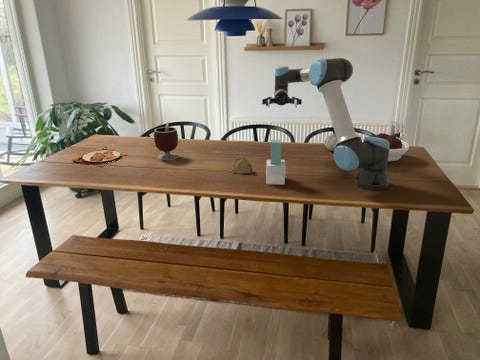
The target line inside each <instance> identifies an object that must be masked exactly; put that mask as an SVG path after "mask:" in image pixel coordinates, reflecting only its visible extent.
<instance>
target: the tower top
mask: <svg viewBox="0 0 480 360" xmlns="http://www.w3.org/2000/svg"><path fill="white" fill-rule="evenodd" d="M270 163H271V159H266V171H267V175H285V176H286V175H287V171H286V170H287V165H286V162H285V159H281V164H270Z"/></svg>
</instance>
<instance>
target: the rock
mask: <svg viewBox="0 0 480 360" xmlns="http://www.w3.org/2000/svg"><path fill="white" fill-rule="evenodd" d="M253 168H254V167H253V166H252V165H251V163H250V162H249V160H248V159H247V158H246V157H245V156H244V155H243V154H241V153H237V155H236V157H235V159H234V164H233V167H232V172H231V174H232V175H234V174H237V175H238V174H241V175H242V174H248V173H249V174H250V173H251V174H252V173H254V169H253Z"/></svg>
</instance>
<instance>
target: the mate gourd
mask: <svg viewBox="0 0 480 360" xmlns="http://www.w3.org/2000/svg"><path fill="white" fill-rule="evenodd" d="M153 131H154V133H153V141H154V144H155V146H156V148H157V149H158V150H159V151H161V152H164V153H162V154H159V155H157V157H156V158H157V160H159V161H163V160H169V161H174V160H177V159H178V158H179V155H178V154H176V153H171V152H172V151H173V150H175V149H176V148H177V147H178V144H179V134H178V131H177V128H176V127H171V126H170V125H169V121H167V122H166V124H165V126H164V127H163V126H162V127H157V128H155V129H154V130H153ZM176 158H177V159H176ZM173 159H174V160H173Z"/></svg>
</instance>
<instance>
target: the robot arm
mask: <svg viewBox="0 0 480 360" xmlns="http://www.w3.org/2000/svg"><path fill="white" fill-rule="evenodd" d="M353 73H354V66H353V64H352V62H351V61H349V60H348V59H346V58H344V57H343V58H342V57H339V58H336V57H335V58H321V59H315V60H314V61H313V62H312V63H311V65H310V67H305V68H294V69H292V68H289V66H287V65H285V66H284V65H277V66H276V67H275V70H274V94H273V95H274V97H272V96H269V97H266V98H263V99H262V101H261V102H262V103H261V104H262V105H265V107H267V108H270V105H272V104H275V105H277V106H285V105H287V104H291V105H294V108H297V106H299V105H300V106H301V105H302V102H303V101H302V99H301V98H297V97H295V96H291V97H290V96H289V94H288V93H289V92H288V91H289V84H293V83H294V84H296V83H306V82H308V83H310V84H311V85H312V86H315V87H316V88H317V91H318V92H319V93H321V94H322V96H323V99H324V102H325V106H326V108H327V111H328V114H329V118H330V121H331V124H332V128H333V130H334V134H336V137H337V143H336V149H335V150H334V151H333V160H334V163H335V164H336V166H337V167H338V168H340V169H341V170H342V171H354V170H358V169H359V171H358V173H357V175H356V178H355V185H356V186H357V187H359V188H362V189H365V190H370V191H383V190H386V189H387V188H389V179H388V177H389V176H388V174H387V168H388V162H389V161H388V155H389V150H390V149H389V145H390V143H389V141H387V140H385V139H382V138H377V137H372V136H364V138H363V140H362V137H361V136H360V135H358V134H357V132H356V130H355V127H354V124H353V121H352V118H351V115H350V113H349V109H348V105H347V103H346V100H345V97H344V93H343V90H342V84H343V83H346V82H347V81H349V80H350V78H351V77H352V75H353ZM363 141H364V142H363Z"/></svg>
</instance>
